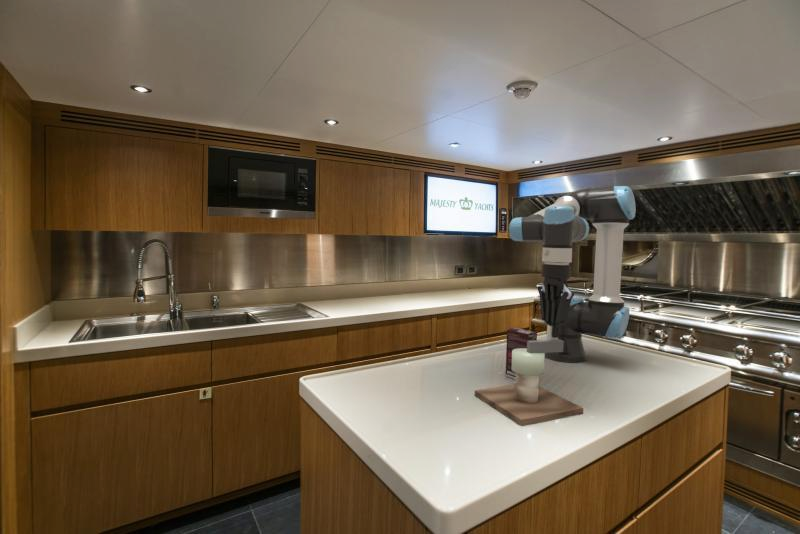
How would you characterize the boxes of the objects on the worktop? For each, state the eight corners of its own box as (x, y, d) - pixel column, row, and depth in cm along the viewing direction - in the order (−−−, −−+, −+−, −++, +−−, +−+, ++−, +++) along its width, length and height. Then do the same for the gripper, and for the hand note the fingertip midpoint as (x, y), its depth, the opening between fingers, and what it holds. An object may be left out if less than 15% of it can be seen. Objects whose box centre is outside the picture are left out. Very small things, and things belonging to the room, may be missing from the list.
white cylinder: (521, 376, 102) (522, 346, 101) (506, 366, 110) (507, 338, 109) (570, 373, 105) (571, 344, 104) (551, 364, 113) (553, 336, 112)
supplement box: (536, 381, 125) (538, 332, 124) (526, 384, 123) (528, 333, 122) (514, 373, 132) (515, 327, 131) (504, 376, 130) (506, 328, 129)
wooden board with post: (474, 395, 113) (475, 364, 112) (530, 386, 120) (531, 357, 120) (521, 425, 94) (522, 389, 94) (583, 413, 102) (584, 379, 101)
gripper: (530, 261, 113) (526, 342, 114) (559, 265, 100) (554, 355, 102) (553, 261, 114) (549, 341, 116) (584, 265, 102) (579, 354, 104)
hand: (551, 348), depth 109 cm, fingers closed
